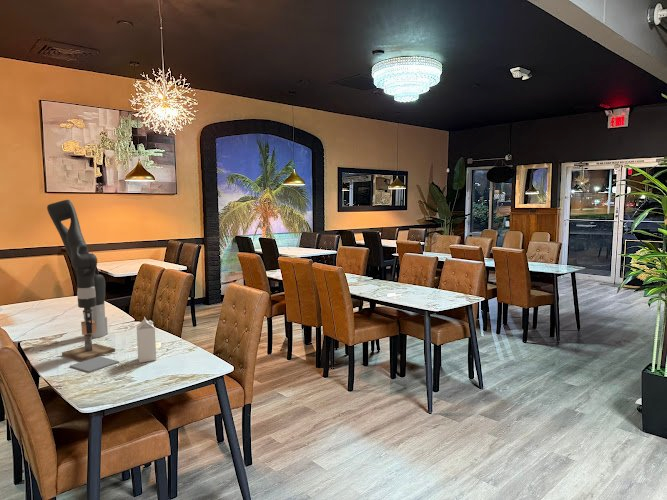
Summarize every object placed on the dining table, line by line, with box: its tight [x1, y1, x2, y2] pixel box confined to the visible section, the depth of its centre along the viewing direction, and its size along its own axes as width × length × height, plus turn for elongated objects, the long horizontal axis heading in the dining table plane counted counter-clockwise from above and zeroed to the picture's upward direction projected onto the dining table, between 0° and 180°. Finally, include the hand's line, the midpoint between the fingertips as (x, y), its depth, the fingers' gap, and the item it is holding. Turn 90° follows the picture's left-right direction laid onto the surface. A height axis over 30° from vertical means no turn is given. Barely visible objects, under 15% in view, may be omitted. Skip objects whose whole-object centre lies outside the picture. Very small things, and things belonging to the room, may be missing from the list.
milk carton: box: [136, 316, 157, 363], centre depth 207 cm, size 7×7×19 cm
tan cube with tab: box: [80, 320, 96, 336], centre depth 215 cm, size 6×6×6 cm
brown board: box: [61, 334, 116, 362], centre depth 216 cm, size 16×16×9 cm
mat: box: [69, 356, 120, 373], centre depth 201 cm, size 14×14×1 cm
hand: (89, 331), depth 216 cm, fingers closed on tan cube with tab, 5 cm apart
